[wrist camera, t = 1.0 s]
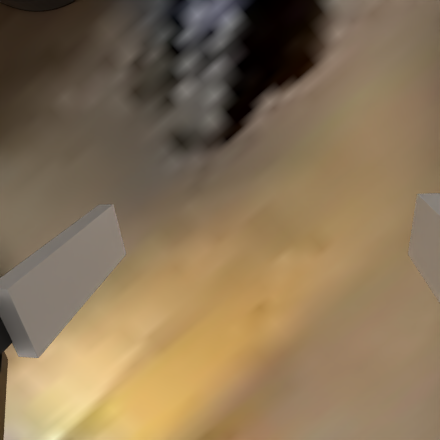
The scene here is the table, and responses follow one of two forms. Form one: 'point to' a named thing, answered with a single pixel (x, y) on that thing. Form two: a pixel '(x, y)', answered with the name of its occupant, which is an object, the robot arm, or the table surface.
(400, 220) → the table surface
